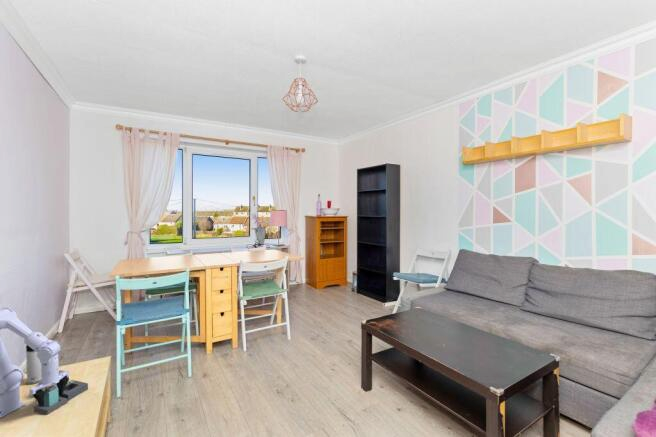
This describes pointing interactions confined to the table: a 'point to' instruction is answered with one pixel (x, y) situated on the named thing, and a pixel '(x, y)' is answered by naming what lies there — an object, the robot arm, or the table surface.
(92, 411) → the table surface
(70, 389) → the port
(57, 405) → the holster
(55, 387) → the plug
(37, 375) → the travel mug
